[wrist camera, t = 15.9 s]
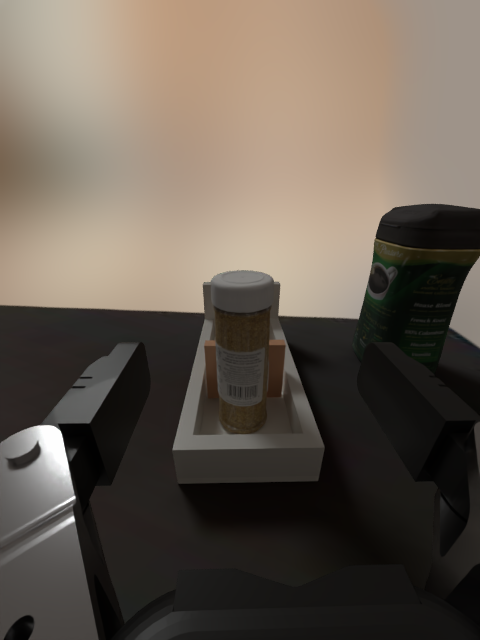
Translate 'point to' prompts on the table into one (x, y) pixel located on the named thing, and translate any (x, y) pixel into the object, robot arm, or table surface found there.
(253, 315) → the sprinkles bottle
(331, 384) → the table surface
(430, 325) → the coffee jar
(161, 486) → the table surface
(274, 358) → the pusher
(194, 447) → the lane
